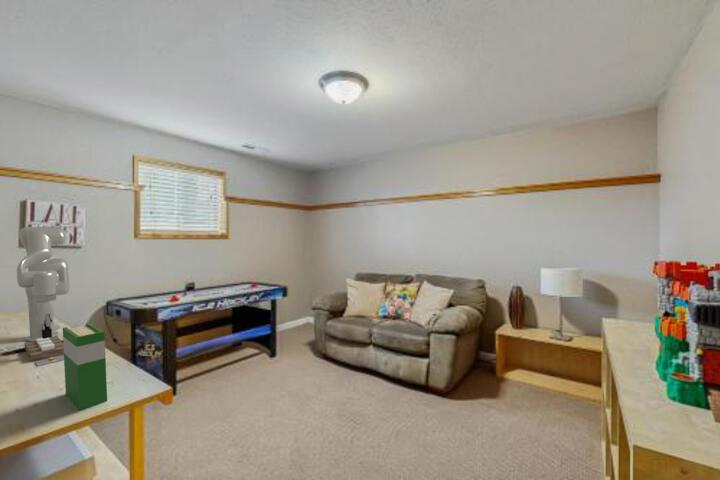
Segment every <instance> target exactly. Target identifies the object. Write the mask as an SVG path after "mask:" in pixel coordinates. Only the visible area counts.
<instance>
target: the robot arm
mask: <svg viewBox="0 0 720 480" xmlns="http://www.w3.org/2000/svg"><path fill="white" fill-rule="evenodd" d="M18 231H19V232H18V236H19V237H18V239H19V240H20V242H21V244H22V246H23V248H24V249H25V252H26V256H24V257H23V258H22V259H21V260H20V262H19V263H18V264H17V267H16V280H17V285H18V286H19V287H20V288H23V289H24V290H25V294H26V298H27V306H28V322H29V324H28V325H29V336H26V338H25V340H26V342H30V341H35V340H36V339H40V338H43V339H45V338H51V337H56V336H57V337H58V336H59V332H58V331H57V330H60V329H61V326H60V325H56V326H55V321H54V320H55V315H54V314H55V311H54V310H55V309H54V302H56V301H57V296H63V295H66V294H68V293H69V291H70V278H69V277H70V275H69V266H68V261H66V259H64V258H51V257H52V256H53V250H52V246H54V245H55V246H57V245H59V246H60V245H64V244H66V241H67V235H66V232H65V230H64V229H63V227H61V226H27V227H23V228H20V229H19V230H18ZM26 270H27V271H26Z"/></svg>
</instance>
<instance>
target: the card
mask: <svg viewBox="0 0 720 480" xmlns="http://www.w3.org/2000/svg"><path fill="white" fill-rule="evenodd" d="M62 361H64V355H61V356H56V357H51V358H47V359H43V360H39V361H34V363H35V365H36V366H37V367H41V366H44V365H49V364H54V363H58V362H62Z"/></svg>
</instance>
